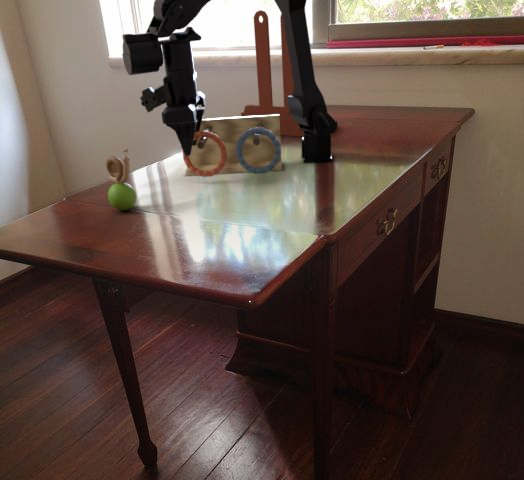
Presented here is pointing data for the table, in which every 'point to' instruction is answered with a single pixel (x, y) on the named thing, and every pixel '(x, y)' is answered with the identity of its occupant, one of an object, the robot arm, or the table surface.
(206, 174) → the terracotta ring
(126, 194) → the snail figurine
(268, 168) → the slate ring
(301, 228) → the table surface
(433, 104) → the table surface
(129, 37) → the robot arm
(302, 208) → the table surface
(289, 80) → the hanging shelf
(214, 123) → the peg rack
